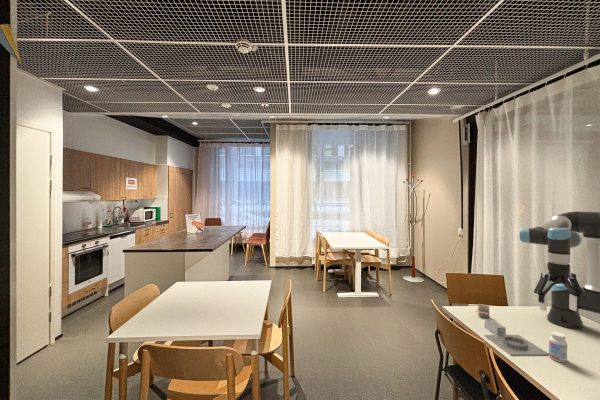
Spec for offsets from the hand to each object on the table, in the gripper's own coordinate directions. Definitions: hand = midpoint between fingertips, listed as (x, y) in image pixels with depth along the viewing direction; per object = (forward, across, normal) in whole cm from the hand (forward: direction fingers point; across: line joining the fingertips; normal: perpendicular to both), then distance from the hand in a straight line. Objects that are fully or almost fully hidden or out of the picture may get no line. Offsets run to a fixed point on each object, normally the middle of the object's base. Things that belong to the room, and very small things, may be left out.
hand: (558, 310), depth 126 cm
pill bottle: (+22, 0, 0) cm, 22 cm away
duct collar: (+22, +10, -17) cm, 30 cm away
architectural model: (+23, +3, -45) cm, 51 cm away
